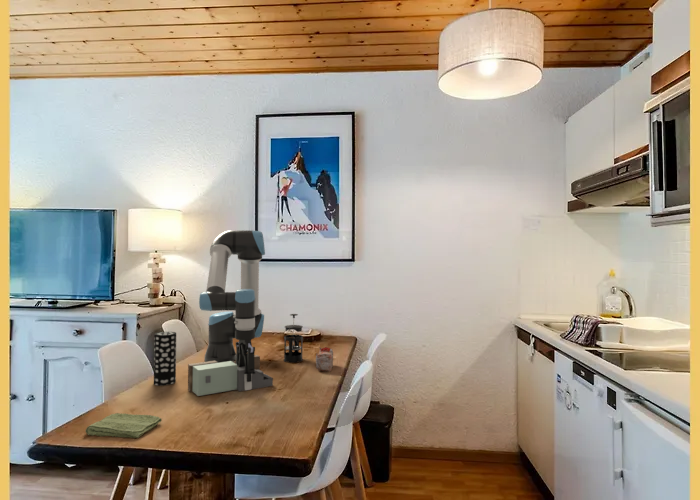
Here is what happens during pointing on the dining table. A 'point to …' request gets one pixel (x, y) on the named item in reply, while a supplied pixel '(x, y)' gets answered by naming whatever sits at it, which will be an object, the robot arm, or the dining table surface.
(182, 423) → the dining table surface
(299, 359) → the french press
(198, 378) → the pale green box
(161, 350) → the spotted tube
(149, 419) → the washcloth
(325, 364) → the food item
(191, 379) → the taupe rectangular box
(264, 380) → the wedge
